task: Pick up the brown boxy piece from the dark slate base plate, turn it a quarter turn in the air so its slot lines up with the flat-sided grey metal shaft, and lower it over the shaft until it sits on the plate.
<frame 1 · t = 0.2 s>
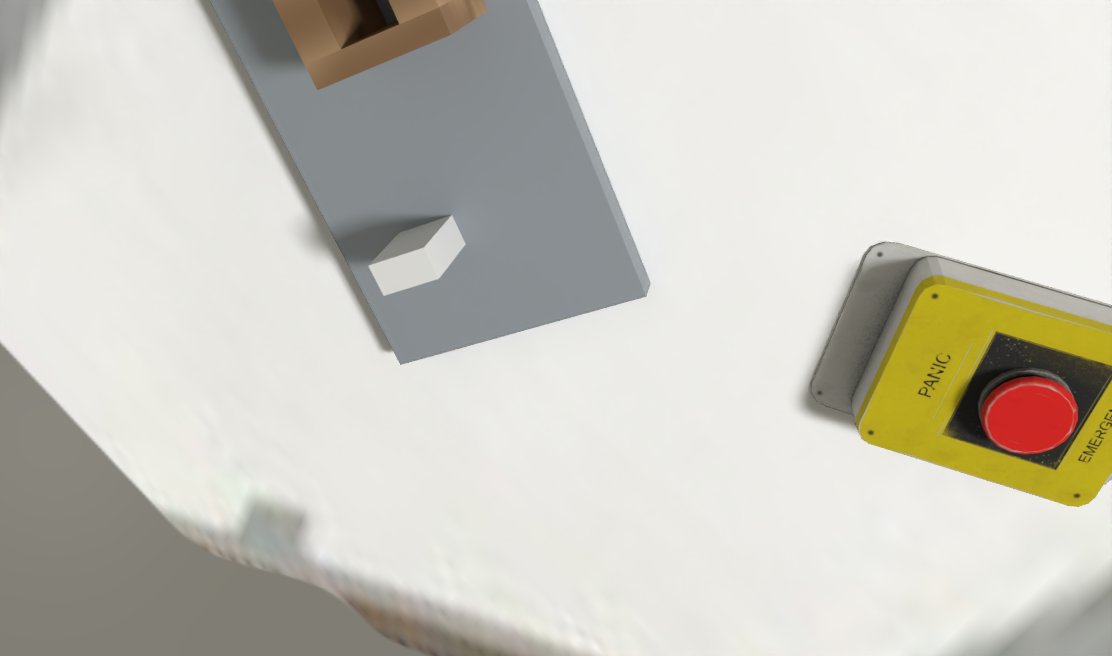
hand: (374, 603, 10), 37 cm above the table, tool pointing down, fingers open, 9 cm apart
emergency button: (990, 360, 47), on the table
shaft plate: (424, 102, 46), on the table
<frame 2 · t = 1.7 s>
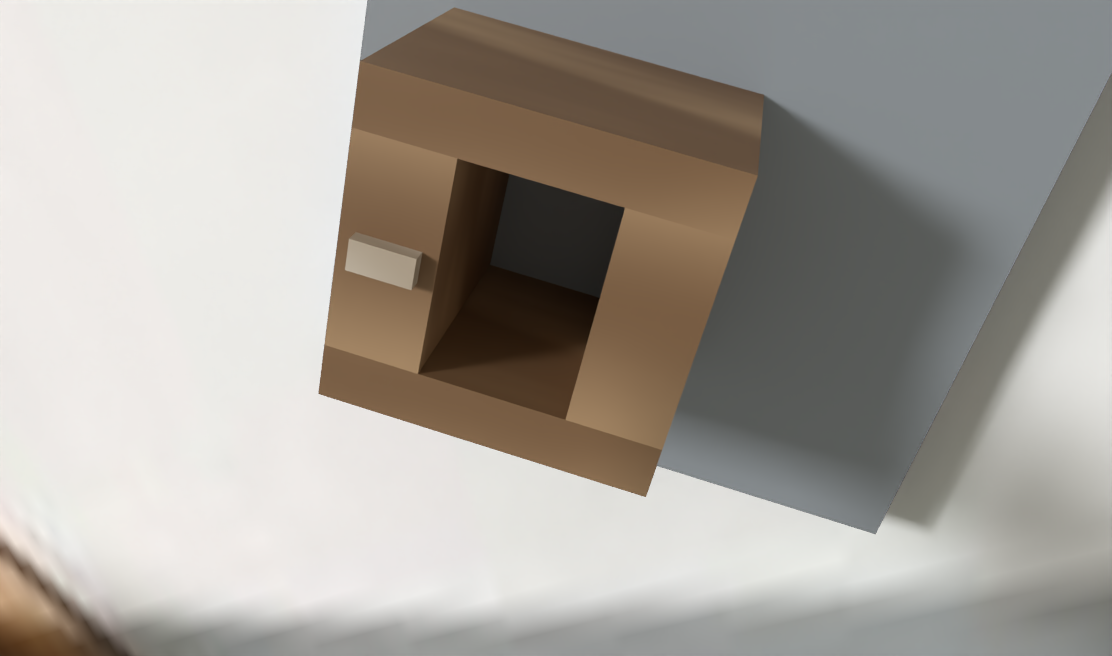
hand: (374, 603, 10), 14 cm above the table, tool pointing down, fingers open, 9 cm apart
brown boxy piece: (570, 197, 21), point 1 cm above the table, touching shaft plate
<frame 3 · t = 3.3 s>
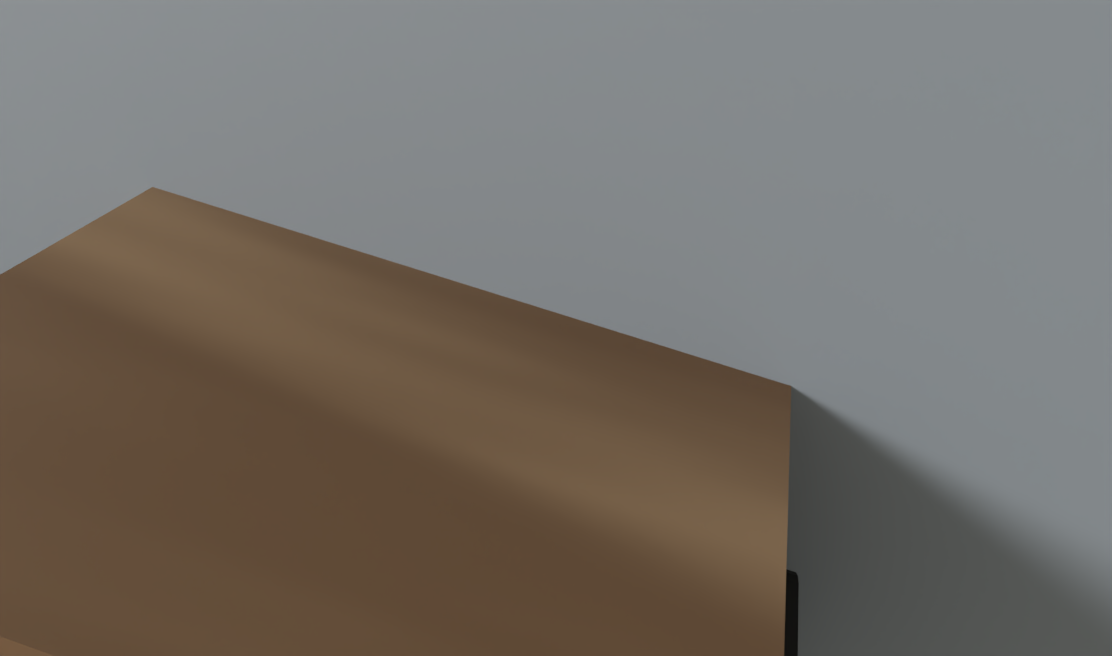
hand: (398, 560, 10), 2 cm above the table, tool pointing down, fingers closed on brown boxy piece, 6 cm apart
brown boxy piece: (413, 532, 11), point 1 cm above the table, touching gripper, shaft plate
shaft plate: (769, 16, 9), on the table
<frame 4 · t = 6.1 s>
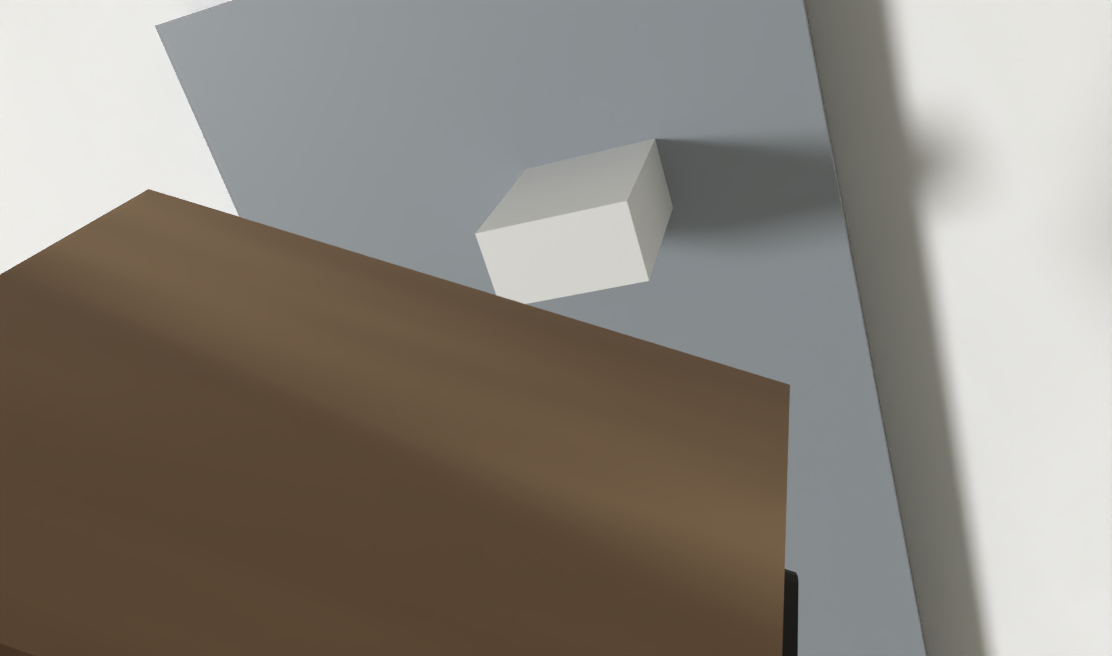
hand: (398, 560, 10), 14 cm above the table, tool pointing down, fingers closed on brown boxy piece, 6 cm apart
brown boxy piece: (412, 534, 11), point 14 cm above the table, touching gripper
shaft plate: (598, 396, 26), on the table
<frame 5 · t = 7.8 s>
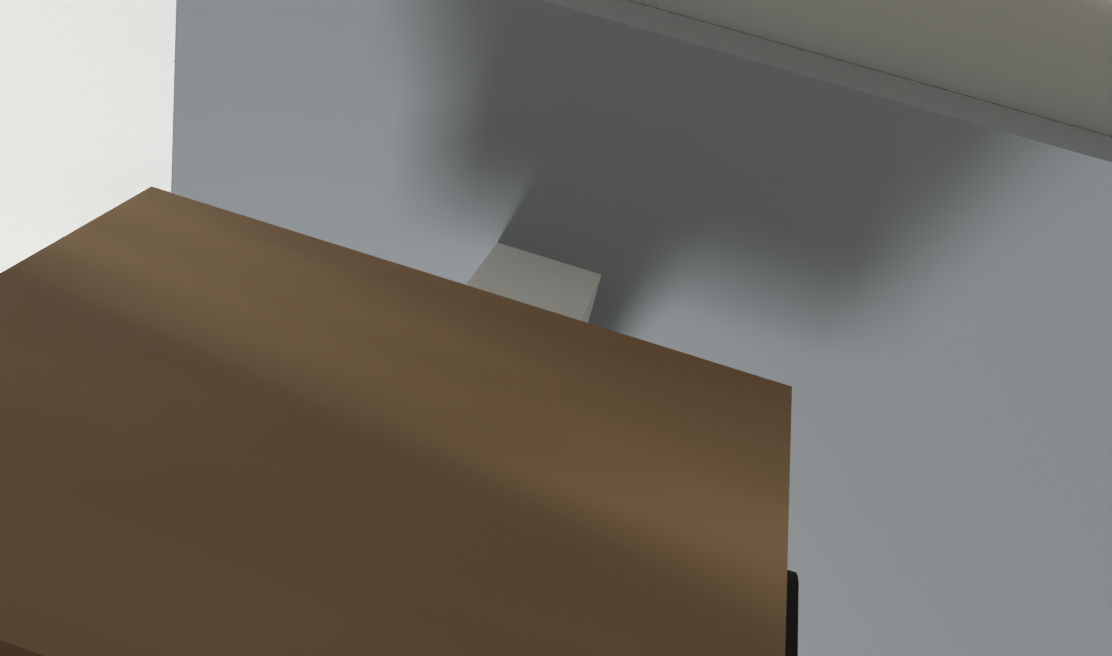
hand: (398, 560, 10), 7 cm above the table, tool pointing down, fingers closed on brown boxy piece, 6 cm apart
brown boxy piece: (412, 533, 11), point 6 cm above the table, touching gripper
shaft plate: (858, 506, 17), on the table
when the fingers open (3 cm above the table, at t = 9.1 s): brown boxy piece stays where it is, resting on shaft plate.
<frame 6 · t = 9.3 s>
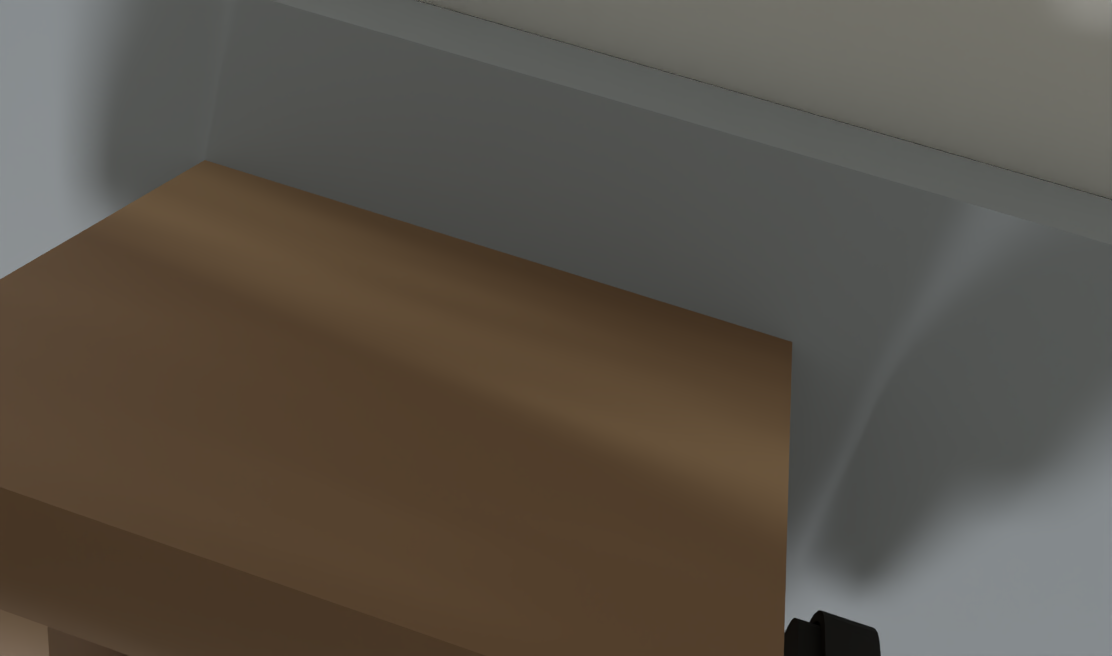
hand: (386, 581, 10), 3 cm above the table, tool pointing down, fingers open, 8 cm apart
brown boxy piece: (440, 484, 12), point 1 cm above the table, touching shaft plate
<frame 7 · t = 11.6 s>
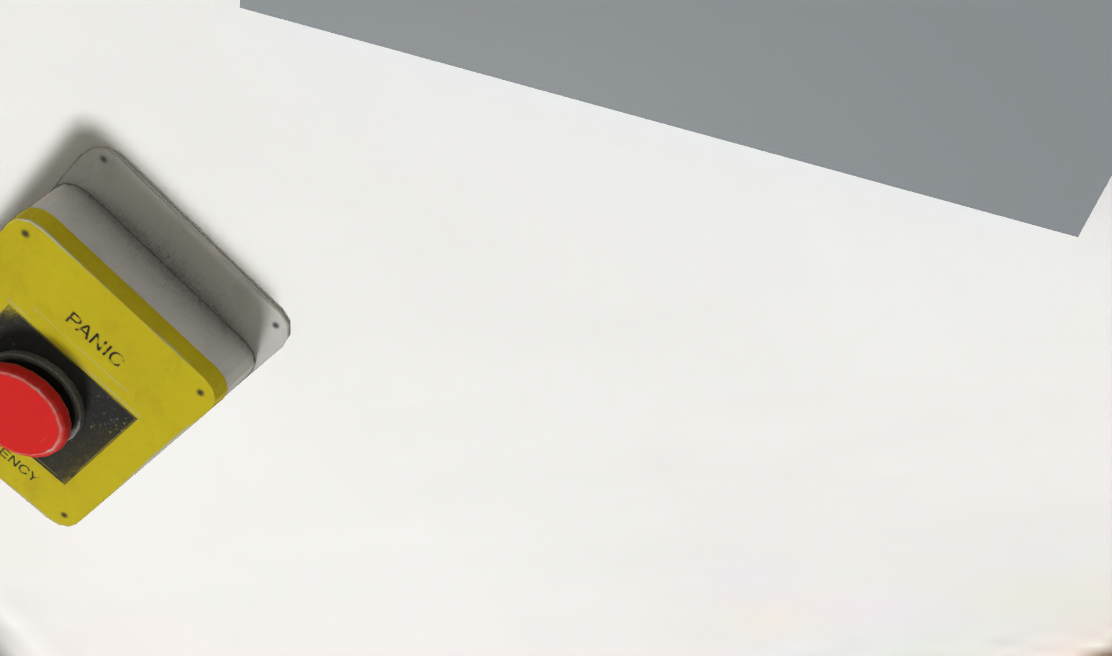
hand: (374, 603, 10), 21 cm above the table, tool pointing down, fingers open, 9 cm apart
emergency button: (105, 336, 38), on the table
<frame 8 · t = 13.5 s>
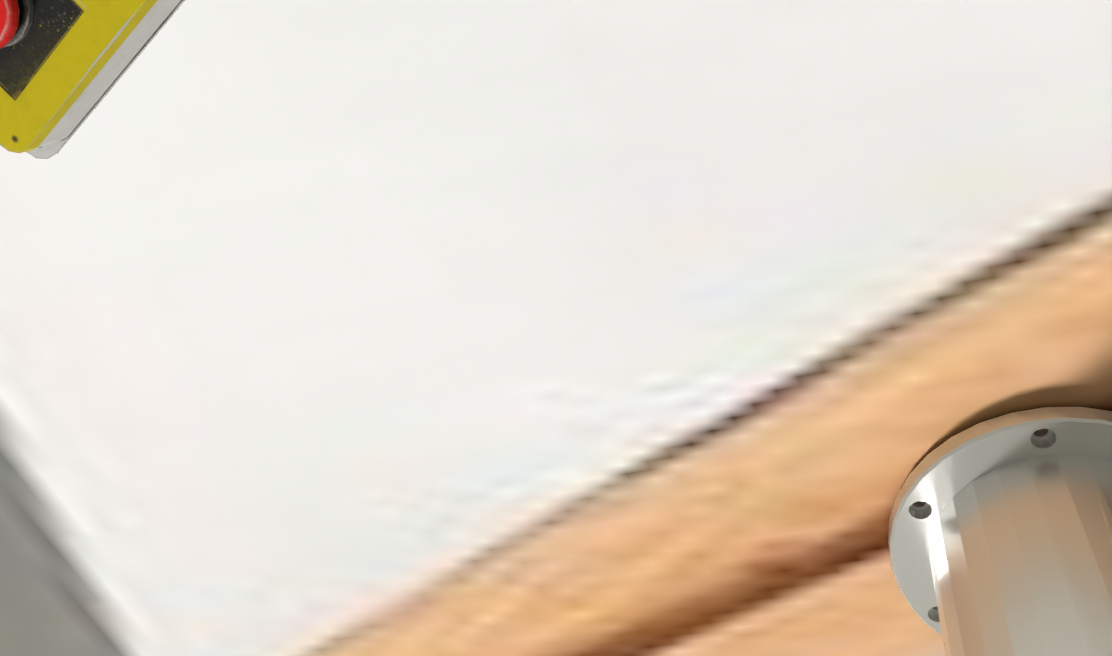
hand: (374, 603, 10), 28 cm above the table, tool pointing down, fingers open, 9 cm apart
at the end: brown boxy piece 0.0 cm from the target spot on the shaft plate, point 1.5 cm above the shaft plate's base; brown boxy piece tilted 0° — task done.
